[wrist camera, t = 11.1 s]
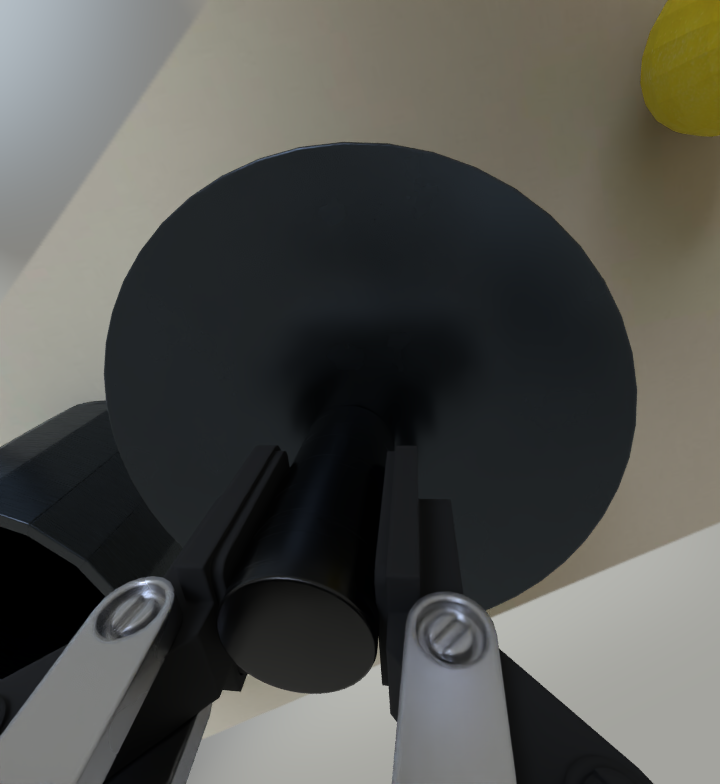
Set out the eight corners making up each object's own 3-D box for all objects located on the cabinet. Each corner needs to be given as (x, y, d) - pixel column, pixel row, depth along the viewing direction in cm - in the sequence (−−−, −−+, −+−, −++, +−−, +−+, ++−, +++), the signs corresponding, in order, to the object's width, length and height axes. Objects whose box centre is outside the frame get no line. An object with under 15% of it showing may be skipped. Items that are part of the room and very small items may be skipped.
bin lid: (71, 161, 11) (-481, 53, 4) (686, 137, 9) (1470, -124, 2) (177, 582, 17) (18, 821, 10) (564, 619, 15) (690, 942, 8)
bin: (10, 401, 28) (-197, 498, 19) (204, 398, 26) (84, 505, 17) (82, 556, 34) (-46, 690, 24) (245, 564, 32) (175, 713, 22)
